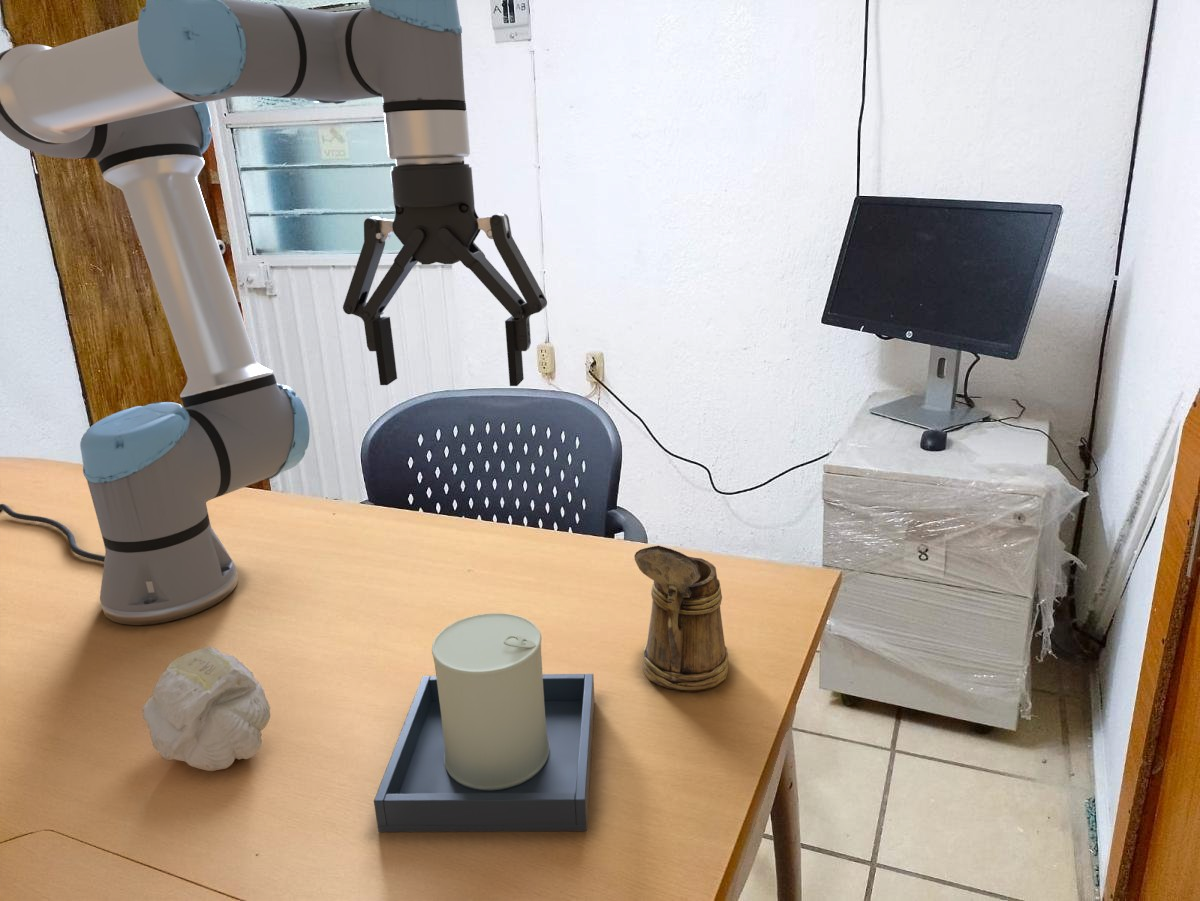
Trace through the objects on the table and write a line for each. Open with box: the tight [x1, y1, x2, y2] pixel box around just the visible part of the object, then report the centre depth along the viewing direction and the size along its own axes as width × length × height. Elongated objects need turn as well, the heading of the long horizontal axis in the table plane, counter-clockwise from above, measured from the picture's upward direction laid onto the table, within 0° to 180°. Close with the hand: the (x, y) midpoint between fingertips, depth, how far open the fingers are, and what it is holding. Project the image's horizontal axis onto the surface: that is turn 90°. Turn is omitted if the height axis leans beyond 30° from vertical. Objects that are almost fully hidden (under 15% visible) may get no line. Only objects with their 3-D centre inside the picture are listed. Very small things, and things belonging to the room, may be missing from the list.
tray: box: [373, 673, 596, 833], centre depth 73 cm, size 17×17×3 cm
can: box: [431, 612, 550, 791], centre depth 71 cm, size 9×9×12 cm
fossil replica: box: [141, 646, 271, 772], centre depth 75 cm, size 12×8×10 cm
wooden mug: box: [633, 545, 729, 693], centre depth 80 cm, size 9×14×18 cm, turn 159°
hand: (452, 382), depth 84 cm, fingers open, 13 cm apart
